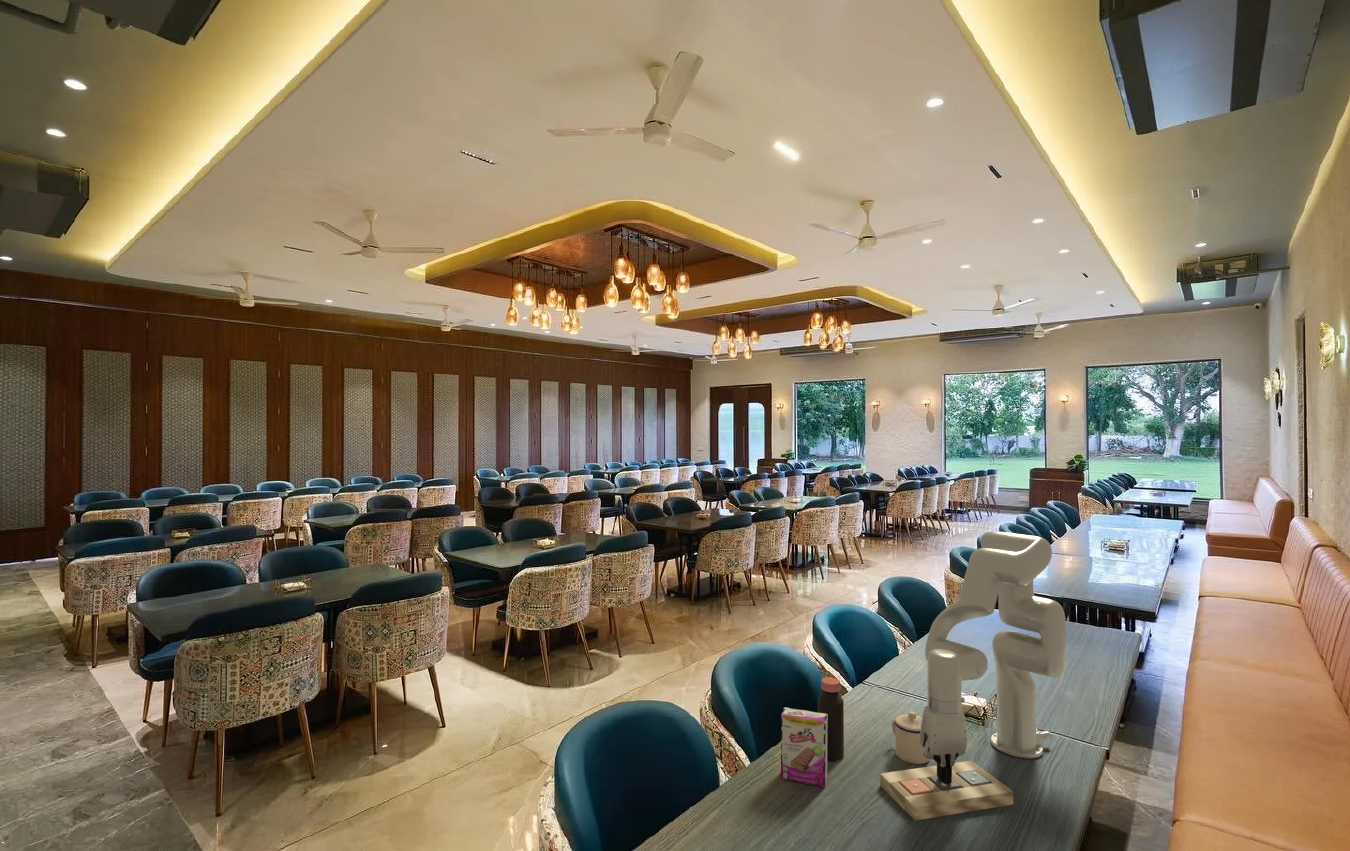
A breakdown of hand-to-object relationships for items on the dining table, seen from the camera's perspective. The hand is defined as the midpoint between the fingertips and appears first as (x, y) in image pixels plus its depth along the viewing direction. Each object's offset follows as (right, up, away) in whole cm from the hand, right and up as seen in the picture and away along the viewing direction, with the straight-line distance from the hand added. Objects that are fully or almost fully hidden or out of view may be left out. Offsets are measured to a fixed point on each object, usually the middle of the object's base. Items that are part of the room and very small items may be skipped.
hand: (944, 780), depth 147 cm
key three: (0, -3, 0) cm, 3 cm away
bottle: (-23, -4, +18) cm, 29 cm away
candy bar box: (-32, -4, +7) cm, 33 cm away
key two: (+8, -3, +2) cm, 9 cm away
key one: (-8, -3, -2) cm, 8 cm away
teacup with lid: (-1, -4, +19) cm, 20 cm away
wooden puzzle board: (0, -4, 0) cm, 4 cm away
